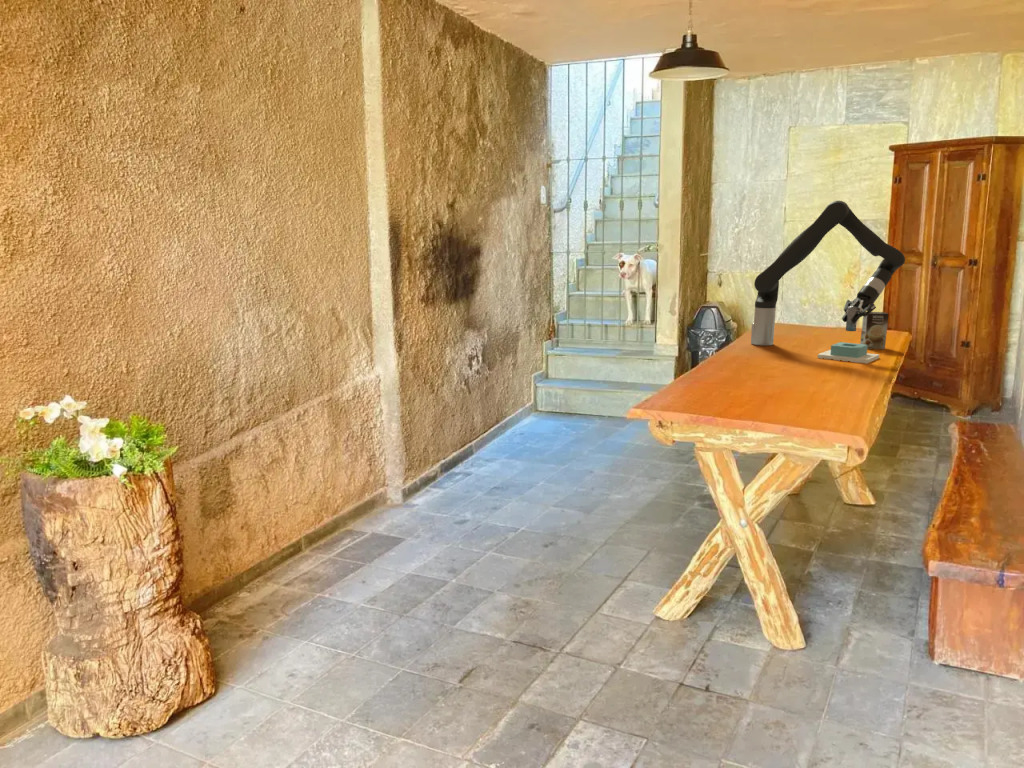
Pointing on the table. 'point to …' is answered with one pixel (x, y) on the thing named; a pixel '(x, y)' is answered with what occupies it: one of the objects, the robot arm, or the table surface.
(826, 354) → the socket board
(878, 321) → the coffee box
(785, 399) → the table surface
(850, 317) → the dark grey tall block
